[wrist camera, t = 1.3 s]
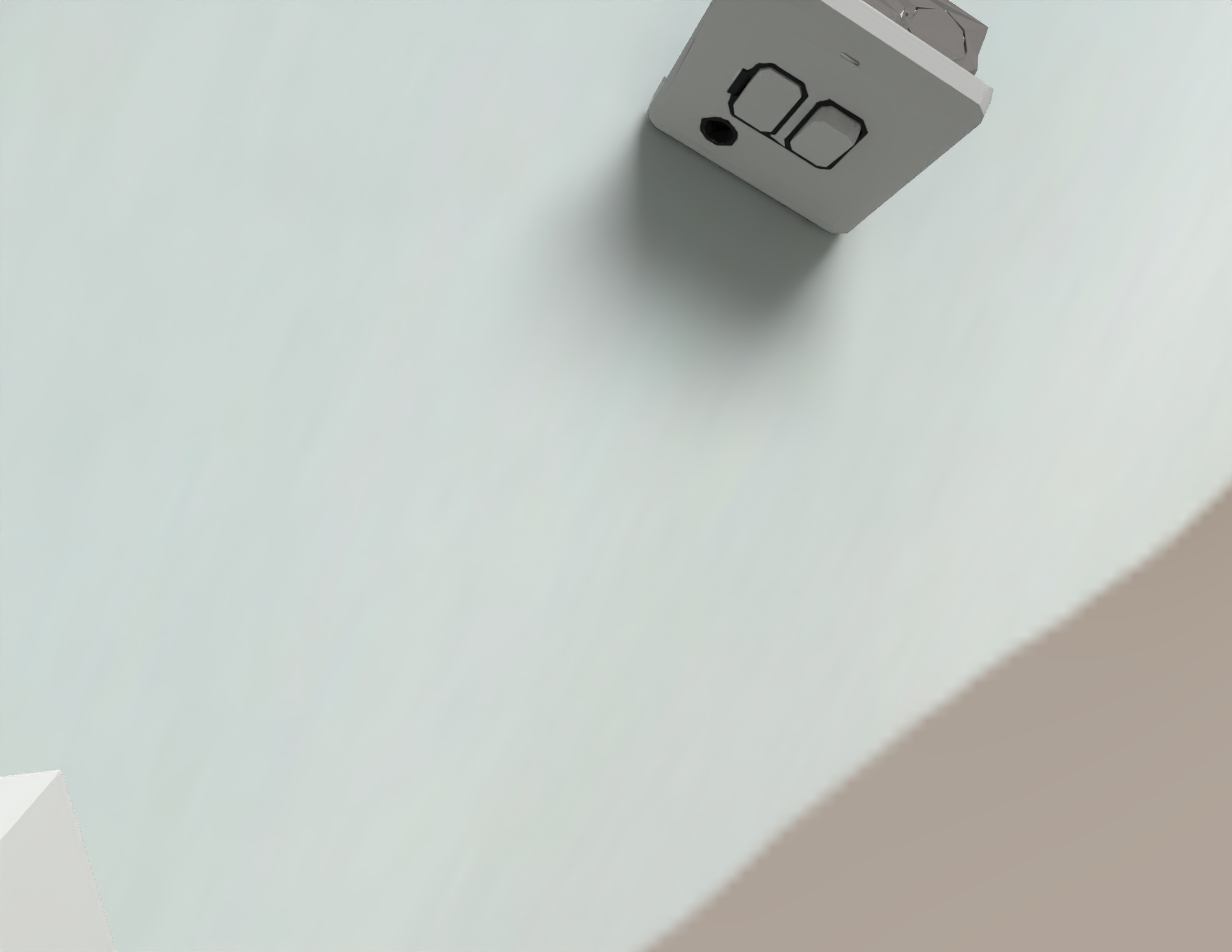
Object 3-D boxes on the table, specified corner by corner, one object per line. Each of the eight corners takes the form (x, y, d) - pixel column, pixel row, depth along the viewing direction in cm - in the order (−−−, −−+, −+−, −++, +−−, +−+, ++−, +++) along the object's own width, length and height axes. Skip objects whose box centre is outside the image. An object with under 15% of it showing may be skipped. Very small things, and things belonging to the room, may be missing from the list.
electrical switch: (637, 121, 36) (715, -4, 27) (695, 11, 37) (790, -148, 28) (837, 242, 38) (973, 163, 29) (889, 135, 39) (1037, 23, 30)
